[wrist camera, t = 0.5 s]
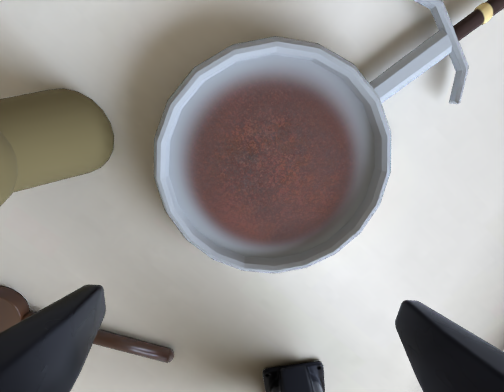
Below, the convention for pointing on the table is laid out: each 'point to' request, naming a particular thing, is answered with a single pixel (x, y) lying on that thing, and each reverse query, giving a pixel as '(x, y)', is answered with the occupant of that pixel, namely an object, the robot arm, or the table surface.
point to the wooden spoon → (17, 309)
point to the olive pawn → (50, 139)
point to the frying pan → (287, 145)
